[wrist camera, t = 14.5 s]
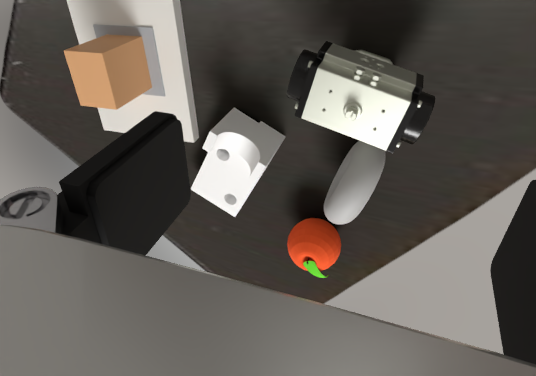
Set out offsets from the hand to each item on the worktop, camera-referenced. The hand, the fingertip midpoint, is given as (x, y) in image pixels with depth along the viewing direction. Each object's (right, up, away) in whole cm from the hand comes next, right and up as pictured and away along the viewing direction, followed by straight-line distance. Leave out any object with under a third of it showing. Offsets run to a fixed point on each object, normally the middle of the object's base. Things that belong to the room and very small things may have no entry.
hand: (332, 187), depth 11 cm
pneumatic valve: (+9, +13, +29) cm, 33 cm away
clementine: (+6, -6, +43) cm, 44 cm away
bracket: (-5, +4, +41) cm, 42 cm away
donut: (+9, +3, +36) cm, 37 cm away
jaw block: (-18, +15, +36) cm, 43 cm away
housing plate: (-18, +16, +38) cm, 45 cm away
